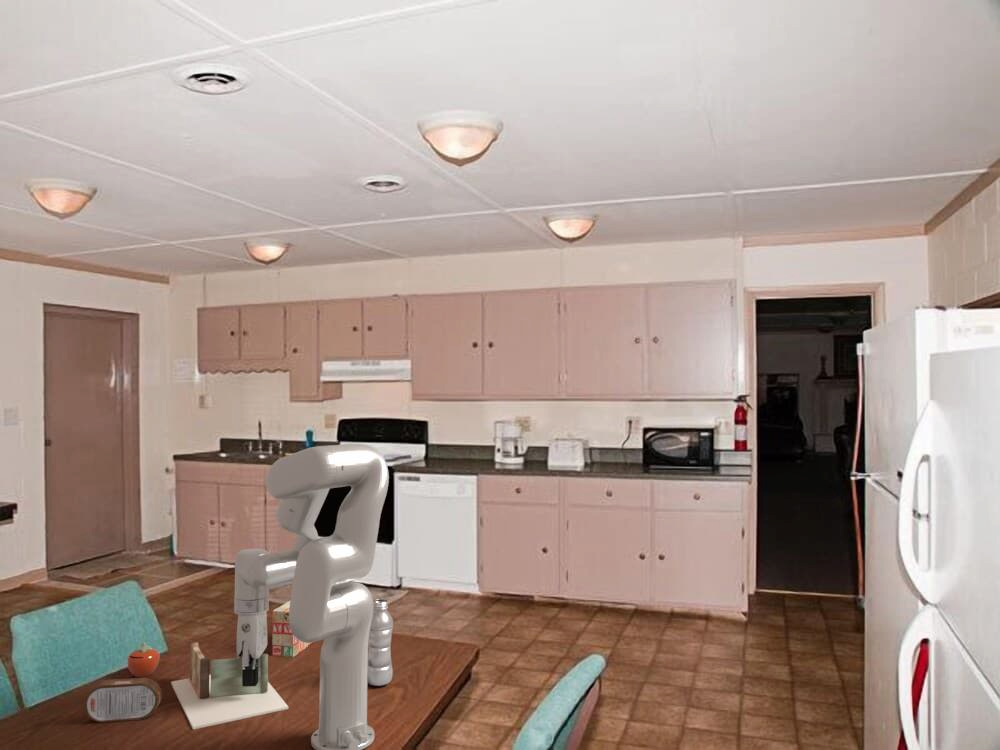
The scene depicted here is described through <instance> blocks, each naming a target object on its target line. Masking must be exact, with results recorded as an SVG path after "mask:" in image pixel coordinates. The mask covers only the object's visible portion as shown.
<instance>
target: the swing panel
mask: <svg viewBox="0 0 1000 750" xmlns="http://www.w3.org/2000/svg"><path fill="white" fill-rule="evenodd" d="M258 666H259V668H258V684H257V685H256V686H246V687H244V686H242V669H243V667H242V658H241V659H238V658H237V657H232V658H221V659H219V658H218V659H211V661H210V674H211V696H210V697H215V696H227V695H238V694H249V693H260V692H261V693H265V692H267V691H268V682H269V654H268V653H262V655H261V656H260V657H259V662H258Z"/></svg>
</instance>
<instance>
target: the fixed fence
mask: <svg viewBox="0 0 1000 750" xmlns="http://www.w3.org/2000/svg"><path fill="white" fill-rule="evenodd" d="M199 643H200V642H198V641H196V642H195V641H193V642H191V643H190V652H189V654H190V660H189V661H190V662H189V663H190V664H189V666H190V667H189V671H190V672H189V678H190V680H192V681H193V683H194V685H195V687H196V688H197V690H198V692H199V694H200V699H206V698H208V697H209V675H210V668H211V661H210V660H211V659H210V658H209V657H205V655H204V654H203V653H202V651H201V649H200V647H199Z"/></svg>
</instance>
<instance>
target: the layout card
mask: <svg viewBox="0 0 1000 750" xmlns="http://www.w3.org/2000/svg"><path fill="white" fill-rule="evenodd" d="M170 684H171V686H172V689H173V691H174V693H175V695H176V698H177V699H178V701H179V704H180V705H181V707H182V709H183V712H184V714H185V716H186V717H187V720H188V722H189V725H190V727H191V729H192V730H198V729H202V728H206V727H207V728H208V727H211V726H215V725H221V724H225V723H230V722H234V721H238V720H239V721H240V720H244V719H247V718H253V717H256V716H257V717H258V716H261V715H267V714H271V713H277V712H280V711H285V710H289V706H288V704H287V703H286V702H285V701H284V699H283V698H282V697H281V695H280V694H279V693H278V692H277V691H276V690H275V688H274V687H273V686H272V684H271V683H270V682H269V681H268V691H267V692H265V693H261V692H260V693H249V694H238V695H227V696H215V697H210V696H211V673H209V697H208V698H206V699H200V694H199V692H198V690H197V688H196V687H195V685H194V683H193V681H192V680H190V677H188V678H184V679H178V680H173V681H171V682H170Z"/></svg>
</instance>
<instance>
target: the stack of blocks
mask: <svg viewBox="0 0 1000 750" xmlns="http://www.w3.org/2000/svg"><path fill="white" fill-rule="evenodd" d="M289 607H290V600H289V601H287V602H285V603H283V604H282V605H280V606H279V607H277V608H274V610H272V623H271V624H272V625H271V634H272V636H271V637H272V639H271V640H272V641H271V642H272V643H271V645H272V646H271V656H272V657H287V658H294V657H295V656H297V655H298V654H300V653H301V652H302V651H304V650H306V647H307V648H308V647H309V646H310V645H311V644H312V643H313V642H311V643H305V642H301V641H299V640H298V639H296V637H295V636H294V635H293V633H292V631H291V628H290V624H289ZM308 645H309V646H308ZM299 652H300V653H299Z"/></svg>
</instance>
